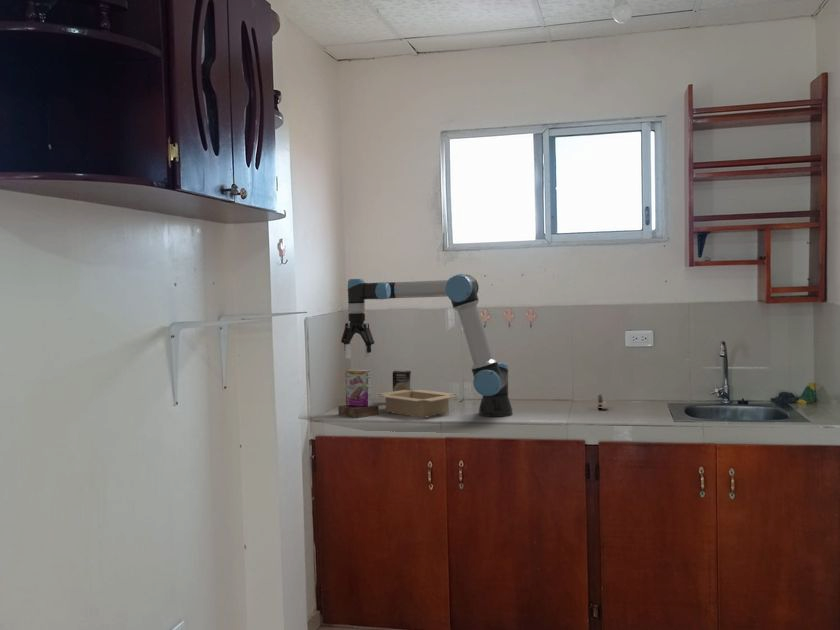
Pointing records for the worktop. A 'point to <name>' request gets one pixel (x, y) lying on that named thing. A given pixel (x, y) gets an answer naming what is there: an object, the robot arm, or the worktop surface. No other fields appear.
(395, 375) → the coffee box
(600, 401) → the architectural model
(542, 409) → the worktop surface
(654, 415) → the worktop surface
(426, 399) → the carton
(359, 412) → the plinth
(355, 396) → the candy bar box
